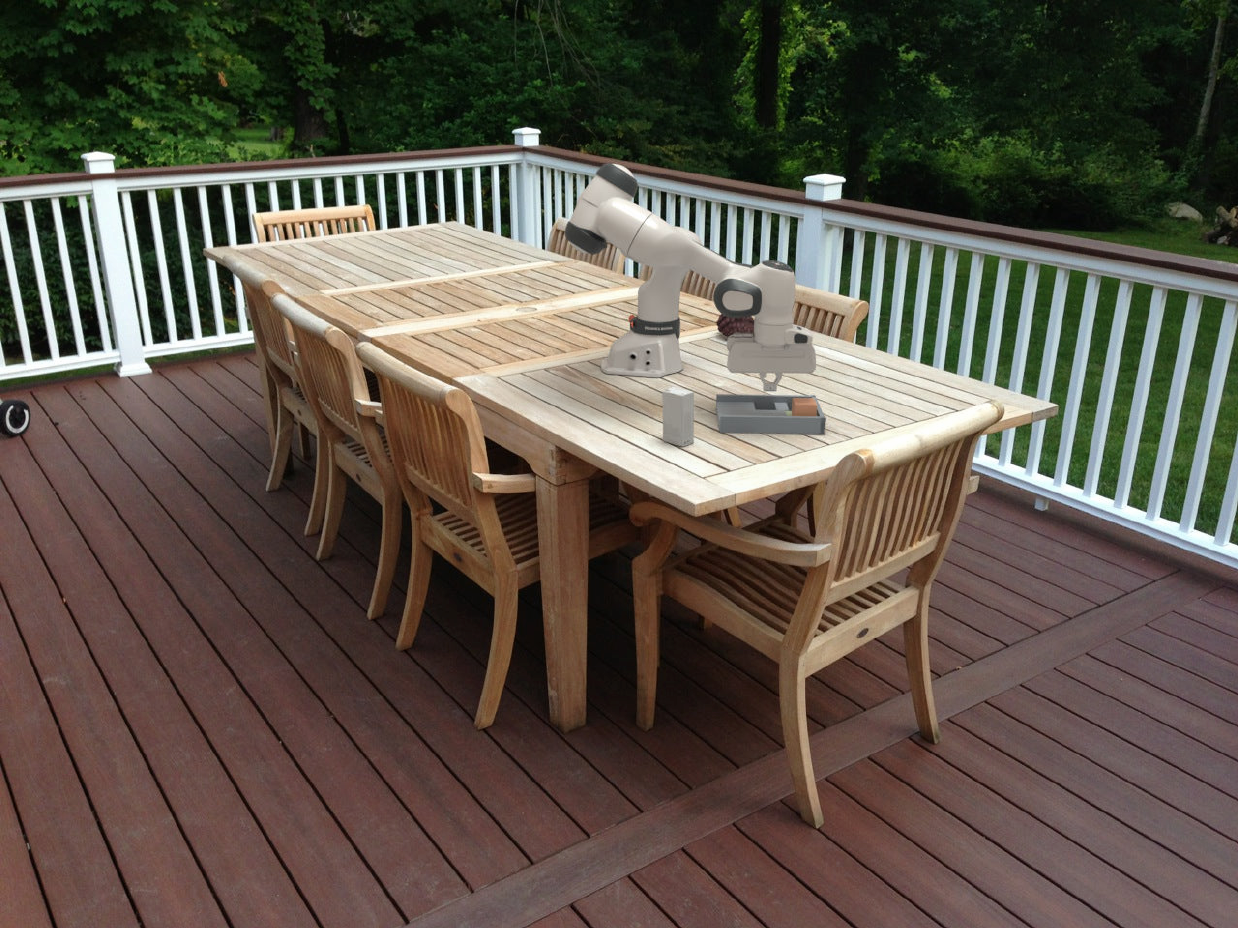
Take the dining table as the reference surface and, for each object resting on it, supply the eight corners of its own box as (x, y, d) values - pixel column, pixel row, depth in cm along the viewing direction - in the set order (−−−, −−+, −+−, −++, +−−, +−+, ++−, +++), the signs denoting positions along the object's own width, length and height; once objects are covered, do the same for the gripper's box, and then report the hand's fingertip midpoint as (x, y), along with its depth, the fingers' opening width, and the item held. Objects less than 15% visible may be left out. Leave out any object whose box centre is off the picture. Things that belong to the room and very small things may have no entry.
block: (794, 421, 253) (795, 404, 251) (791, 414, 257) (792, 398, 256) (815, 421, 253) (817, 405, 251) (812, 414, 257) (814, 398, 256)
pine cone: (767, 344, 323) (769, 311, 320) (740, 348, 318) (742, 315, 315) (730, 331, 337) (732, 299, 334) (704, 335, 332) (705, 303, 329)
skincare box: (694, 443, 245) (696, 391, 241) (681, 448, 242) (683, 396, 238) (673, 436, 249) (675, 385, 245) (660, 441, 246) (661, 390, 241)
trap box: (720, 432, 251) (720, 416, 250) (715, 409, 267) (716, 393, 266) (824, 434, 251) (825, 418, 250) (813, 410, 267) (815, 395, 265)
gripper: (728, 336, 246) (726, 394, 251) (819, 337, 245) (815, 395, 251) (726, 329, 251) (723, 386, 257) (815, 329, 251) (811, 386, 257)
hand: (769, 390), depth 254 cm, fingers closed
